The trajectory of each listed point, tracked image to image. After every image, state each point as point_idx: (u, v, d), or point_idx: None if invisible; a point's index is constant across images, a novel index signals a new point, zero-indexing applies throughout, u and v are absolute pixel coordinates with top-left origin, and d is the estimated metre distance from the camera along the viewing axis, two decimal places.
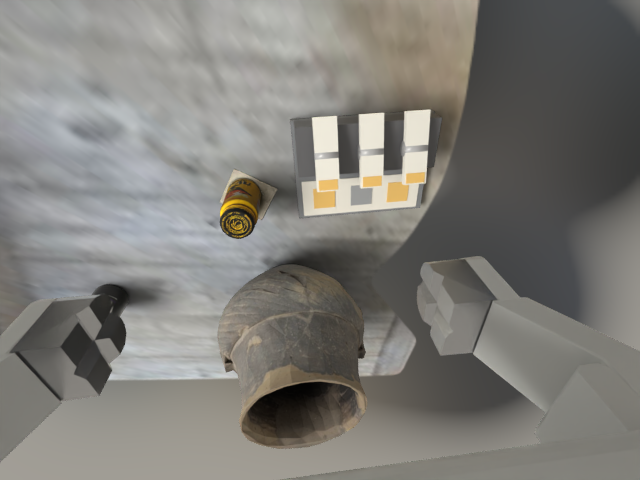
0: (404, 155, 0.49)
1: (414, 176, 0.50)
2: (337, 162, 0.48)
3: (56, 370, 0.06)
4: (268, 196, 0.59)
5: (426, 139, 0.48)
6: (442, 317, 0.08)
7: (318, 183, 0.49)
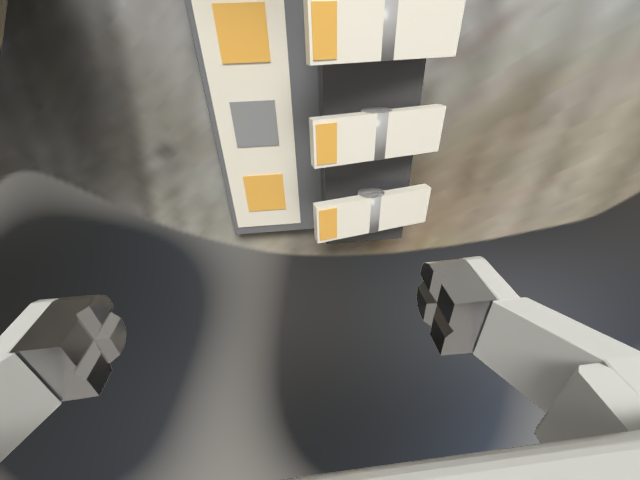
0: (365, 197, 0.27)
1: (331, 221, 0.27)
2: (372, 58, 0.21)
3: (56, 370, 0.06)
4: None
5: (386, 226, 0.29)
6: (442, 317, 0.08)
7: (330, 0, 0.19)
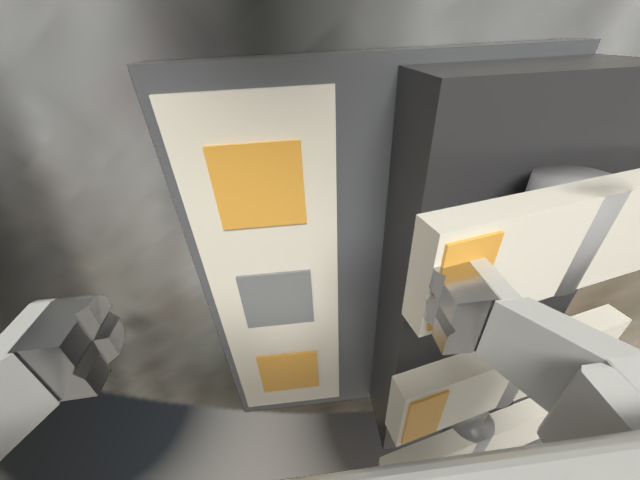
0: (465, 439, 0.16)
1: None
2: (539, 296, 0.10)
3: (55, 370, 0.06)
4: None
5: None
6: (444, 317, 0.08)
7: (489, 232, 0.08)
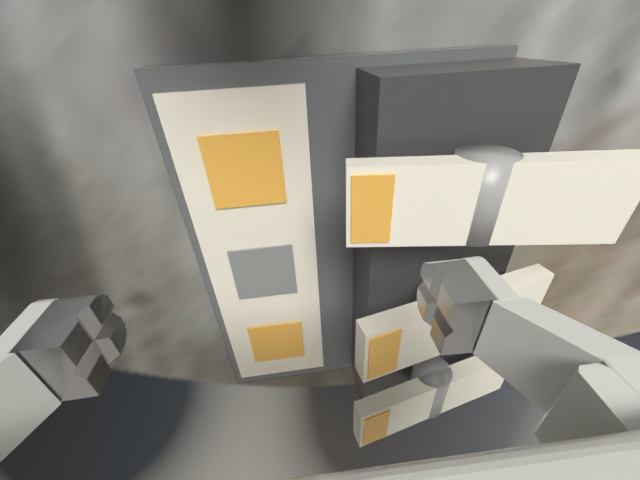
0: (427, 385, 0.19)
1: (380, 425, 0.19)
2: (450, 242, 0.13)
3: (56, 370, 0.06)
4: None
5: (451, 406, 0.21)
6: (442, 317, 0.08)
7: (384, 173, 0.12)
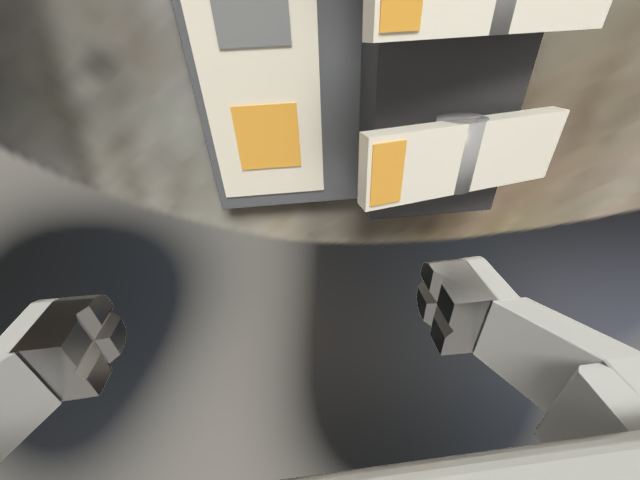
0: (456, 123, 0.15)
1: (393, 168, 0.14)
2: None
3: (56, 370, 0.06)
4: None
5: (483, 183, 0.17)
6: (442, 317, 0.08)
7: None
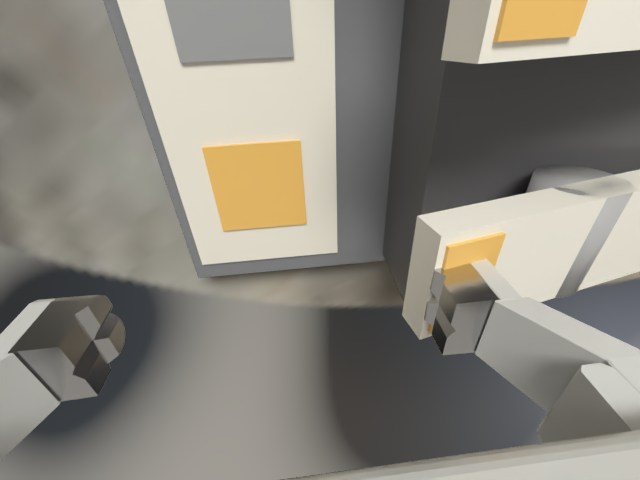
0: (581, 196, 0.08)
1: None
2: None
3: (55, 370, 0.06)
4: None
5: (599, 277, 0.10)
6: (444, 317, 0.08)
7: None
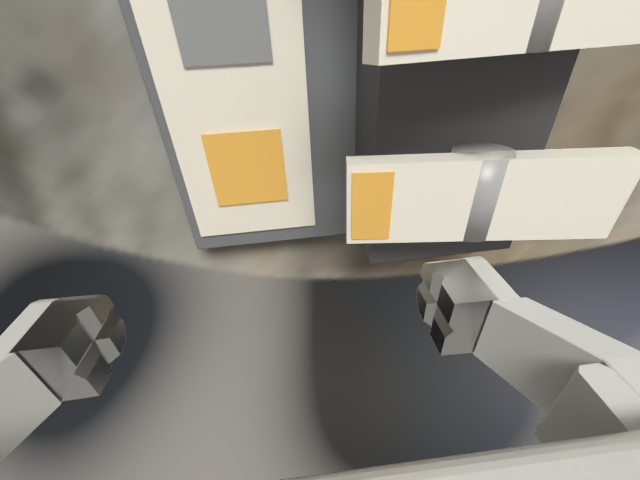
0: (467, 158, 0.12)
1: (379, 202, 0.12)
2: None
3: (56, 370, 0.06)
4: None
5: (506, 233, 0.13)
6: (442, 317, 0.08)
7: None
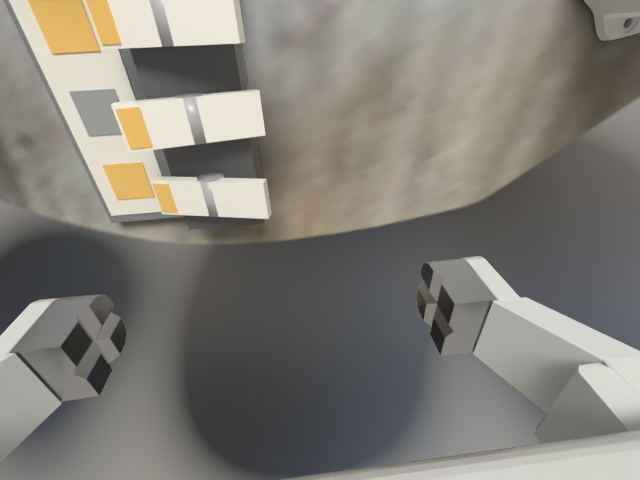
0: (197, 180, 0.29)
1: (166, 196, 0.30)
2: (153, 44, 0.22)
3: (56, 370, 0.06)
4: None
5: (225, 214, 0.30)
6: (442, 317, 0.08)
7: None
